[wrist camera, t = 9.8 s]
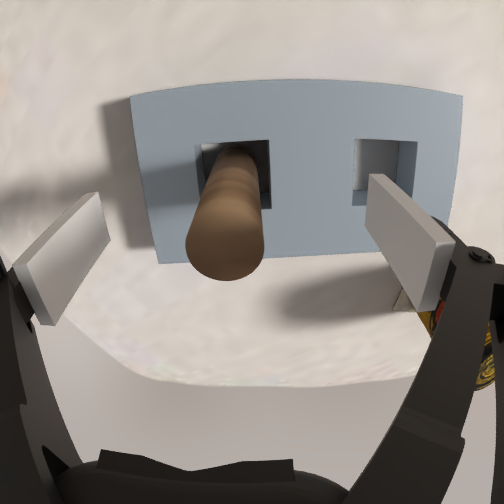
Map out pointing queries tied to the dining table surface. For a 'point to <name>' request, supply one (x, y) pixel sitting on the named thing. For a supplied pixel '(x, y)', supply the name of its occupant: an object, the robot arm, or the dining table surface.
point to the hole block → (295, 156)
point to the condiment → (430, 323)
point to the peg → (228, 219)
